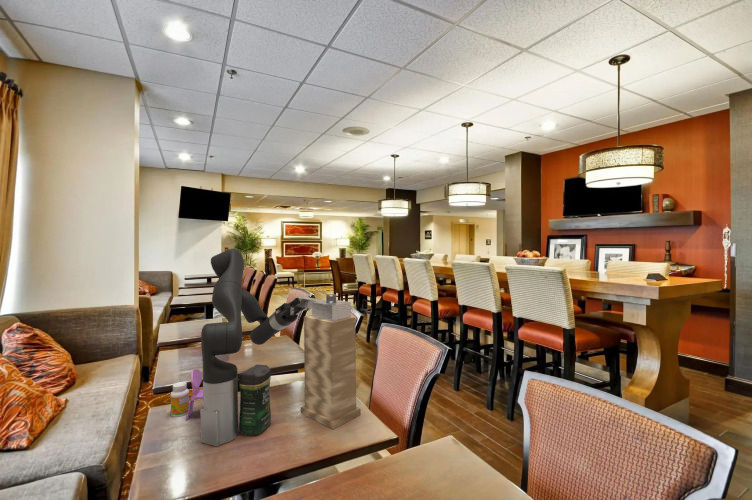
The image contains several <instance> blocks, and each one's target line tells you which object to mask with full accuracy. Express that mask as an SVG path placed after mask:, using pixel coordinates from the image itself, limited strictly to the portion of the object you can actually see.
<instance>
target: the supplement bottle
mask: <svg viewBox="0 0 752 500" xmlns="http://www.w3.org/2000/svg"><path fill="white" fill-rule="evenodd" d="M189 402H190V390H189V389H188V387H187V382H186V381H179V382H177V383H174V384H173V385H172V391H171V392H170V415H171V416H172V417H174V418H176V417H178V418H179V417H182V416H184V415H187V414H188V410H189Z"/></svg>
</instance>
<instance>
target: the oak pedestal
mask: <svg viewBox="0 0 752 500" xmlns="http://www.w3.org/2000/svg"><path fill="white" fill-rule="evenodd" d="M356 340H357V339H356V316H351V318H346V319H342V320H338V321H333V322H332V321H327V320H322V319H317V318H313V317H312V314H310V315H305V316H303V343H304V344H303V347H304V349H303V350H304V351H303V352H304V354H303V355H304V356H303V357H304V359H303V360H304V361H303V362H304V363H303V364H304V366H303V367H304V405H302V406H300V414H302V415H304V416H306V417H308V418H309V419H312V420H314V421H315V422H318V423H320V424H321V425H323V426H324V427H326V428H329V429H330V430H335V429H338V428H339V427H341V426H342V425H344V424H347V423H348V422H350V421H352V420H354V419H355V418H357V417H359V416H361V411H362V410H361V408H360V407H359V406H357V365H356V364H357V361H356V359H357V355H356V353H357V350H356V348H357V347H356V346H357V345H356Z"/></svg>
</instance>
